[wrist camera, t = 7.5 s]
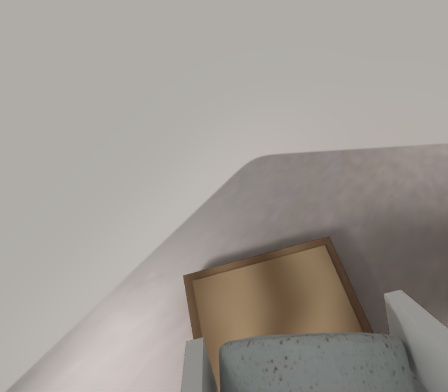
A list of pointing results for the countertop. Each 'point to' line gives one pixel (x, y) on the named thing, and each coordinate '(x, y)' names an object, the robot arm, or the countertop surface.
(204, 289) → the walnut base
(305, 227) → the countertop surface
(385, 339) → the ceramic mug
